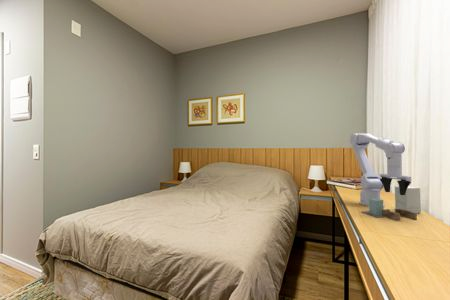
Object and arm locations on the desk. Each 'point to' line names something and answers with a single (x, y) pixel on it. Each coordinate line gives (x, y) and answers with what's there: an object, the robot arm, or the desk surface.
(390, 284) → the desk surface
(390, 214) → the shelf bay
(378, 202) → the block
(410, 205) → the supplement box
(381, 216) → the mat
